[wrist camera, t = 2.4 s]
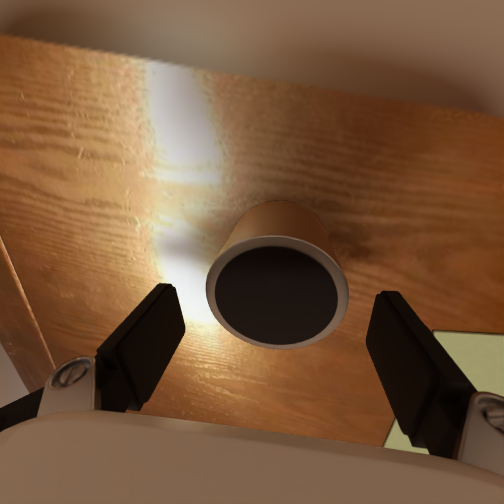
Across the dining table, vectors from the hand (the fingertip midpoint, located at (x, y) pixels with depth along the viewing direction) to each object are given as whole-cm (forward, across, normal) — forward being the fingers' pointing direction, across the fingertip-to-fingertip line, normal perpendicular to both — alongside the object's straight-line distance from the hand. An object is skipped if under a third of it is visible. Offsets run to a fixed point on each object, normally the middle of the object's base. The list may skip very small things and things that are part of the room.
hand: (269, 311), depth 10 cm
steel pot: (+6, 0, 0) cm, 6 cm away
